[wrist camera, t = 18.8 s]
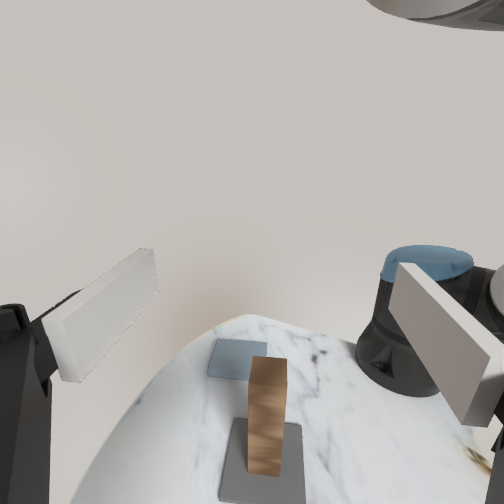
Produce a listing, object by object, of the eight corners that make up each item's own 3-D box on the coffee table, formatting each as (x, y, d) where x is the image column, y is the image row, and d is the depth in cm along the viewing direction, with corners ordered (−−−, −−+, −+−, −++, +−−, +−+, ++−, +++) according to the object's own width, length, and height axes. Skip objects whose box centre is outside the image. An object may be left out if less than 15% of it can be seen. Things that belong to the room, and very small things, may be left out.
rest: (301, 428, 40) (301, 425, 39) (305, 514, 30) (306, 511, 30) (234, 420, 41) (234, 417, 40) (219, 501, 31) (219, 498, 31)
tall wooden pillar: (280, 443, 37) (286, 358, 31) (279, 477, 33) (287, 387, 28) (251, 440, 37) (252, 355, 32) (247, 472, 34) (248, 383, 28)
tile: (263, 383, 47) (266, 351, 55) (264, 373, 47) (267, 342, 54) (208, 377, 48) (218, 346, 56) (207, 368, 48) (218, 338, 55)
